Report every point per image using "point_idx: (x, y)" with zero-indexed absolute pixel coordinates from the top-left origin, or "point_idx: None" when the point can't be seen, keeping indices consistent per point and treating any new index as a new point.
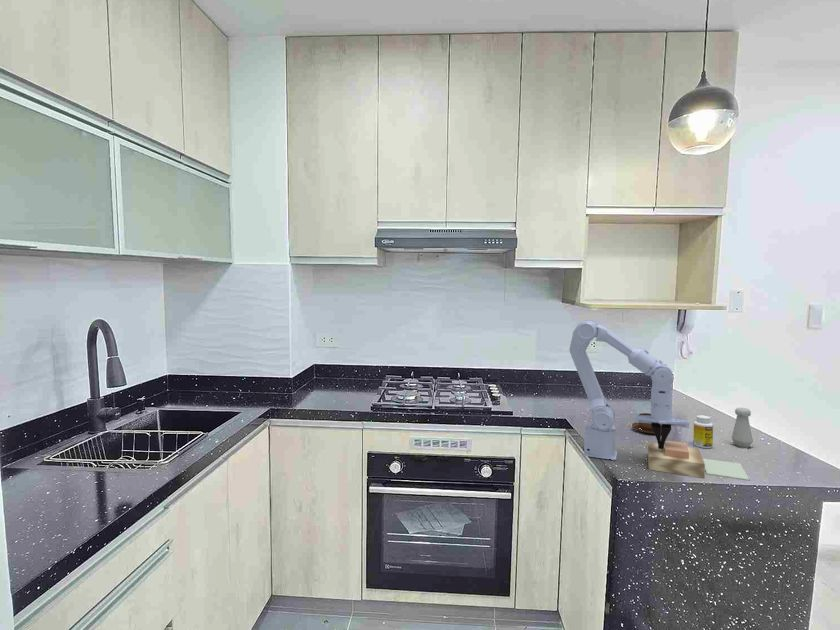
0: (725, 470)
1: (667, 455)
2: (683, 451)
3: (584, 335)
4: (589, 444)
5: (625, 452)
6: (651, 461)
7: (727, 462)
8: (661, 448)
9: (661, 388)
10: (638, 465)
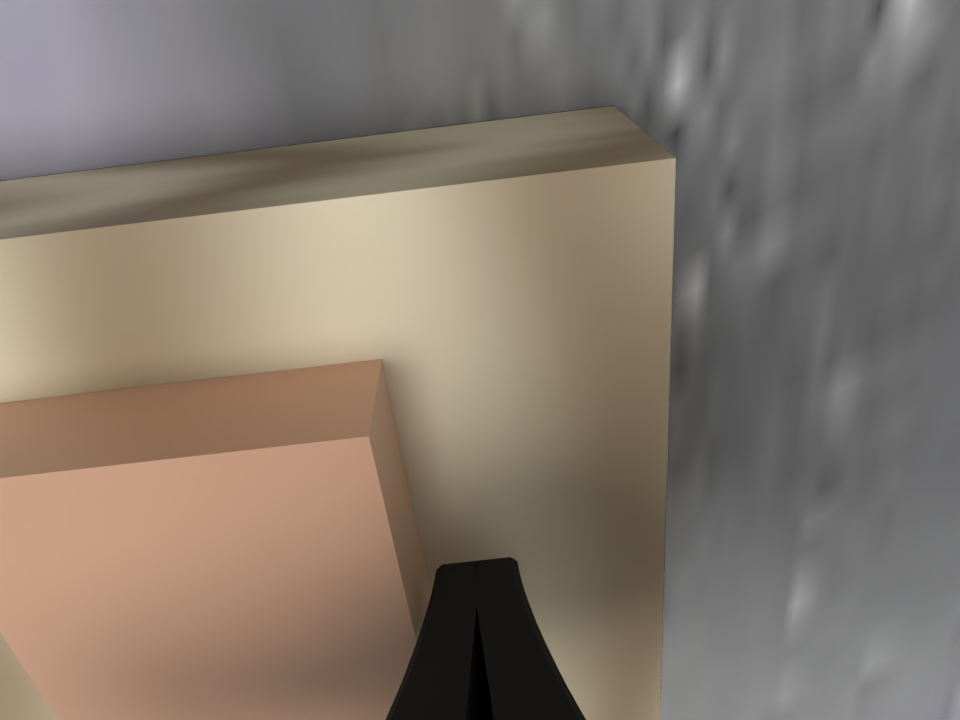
0: None
1: (343, 370)
2: (10, 479)
3: None
4: None
5: (863, 569)
6: (601, 138)
7: None
8: (468, 566)
9: None
10: (751, 208)
